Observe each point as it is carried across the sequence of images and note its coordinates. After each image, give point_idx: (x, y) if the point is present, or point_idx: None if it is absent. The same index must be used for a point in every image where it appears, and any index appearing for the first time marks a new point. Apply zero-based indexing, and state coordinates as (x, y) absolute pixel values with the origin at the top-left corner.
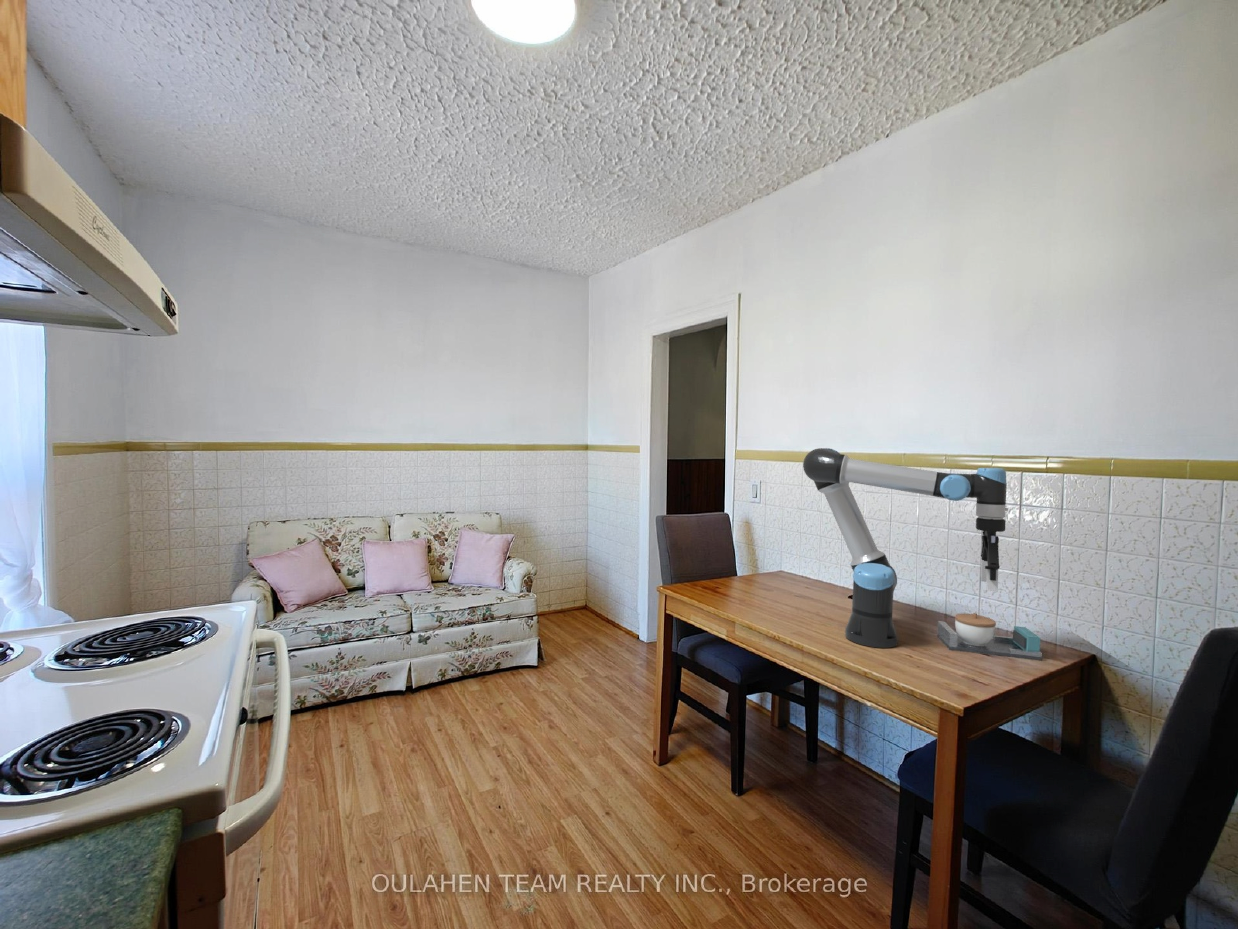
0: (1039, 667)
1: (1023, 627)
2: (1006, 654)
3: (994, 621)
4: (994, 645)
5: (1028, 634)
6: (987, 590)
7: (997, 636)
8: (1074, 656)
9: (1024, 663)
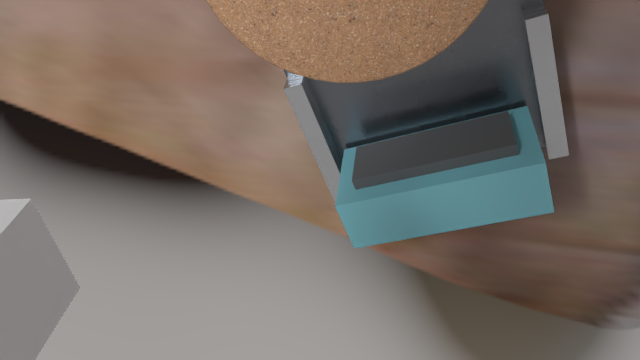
0: (229, 164)
1: (539, 204)
2: None
3: (350, 77)
4: None
5: (378, 210)
6: (5, 207)
7: (534, 36)
8: (501, 286)
9: (237, 119)
